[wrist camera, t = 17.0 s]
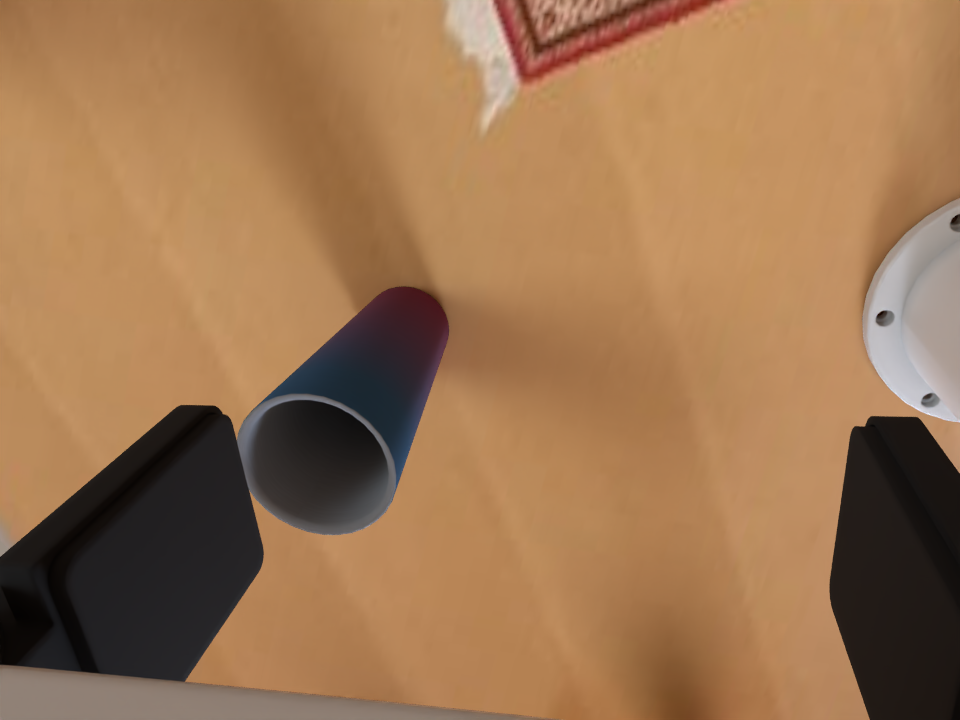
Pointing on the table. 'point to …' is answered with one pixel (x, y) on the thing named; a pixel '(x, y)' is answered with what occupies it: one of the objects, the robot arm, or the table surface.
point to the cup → (346, 417)
